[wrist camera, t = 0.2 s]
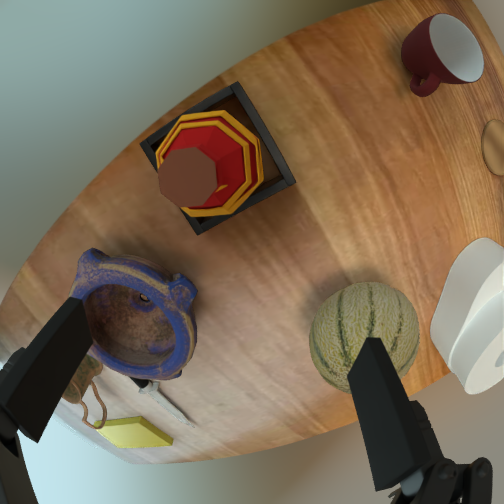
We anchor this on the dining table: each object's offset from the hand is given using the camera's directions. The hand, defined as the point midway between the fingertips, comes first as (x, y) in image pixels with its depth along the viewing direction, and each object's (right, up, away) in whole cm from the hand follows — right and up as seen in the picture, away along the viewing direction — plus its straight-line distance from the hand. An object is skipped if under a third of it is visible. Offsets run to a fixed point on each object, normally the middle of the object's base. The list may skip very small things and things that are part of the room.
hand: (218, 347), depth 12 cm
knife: (-17, -24, +38) cm, 48 cm away
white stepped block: (+42, -4, +27) cm, 51 cm away
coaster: (+40, +21, +16) cm, 48 cm away
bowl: (-14, -2, +27) cm, 31 cm away
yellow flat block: (-32, -45, +47) cm, 73 cm away
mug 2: (+22, +28, +13) cm, 38 cm away
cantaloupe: (+16, -4, +28) cm, 32 cm away
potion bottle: (-2, +15, +19) cm, 25 cm away
